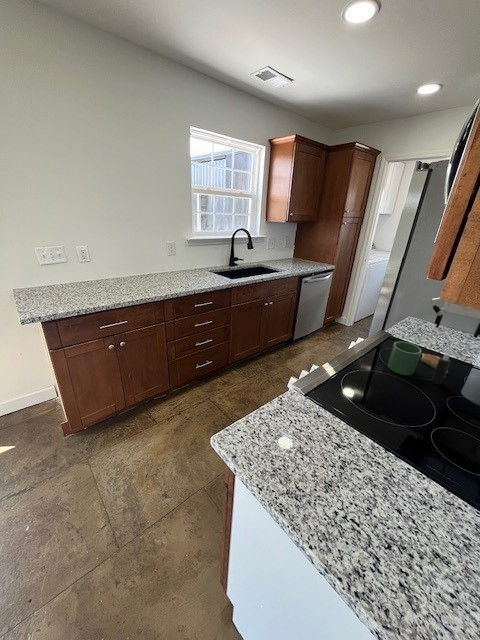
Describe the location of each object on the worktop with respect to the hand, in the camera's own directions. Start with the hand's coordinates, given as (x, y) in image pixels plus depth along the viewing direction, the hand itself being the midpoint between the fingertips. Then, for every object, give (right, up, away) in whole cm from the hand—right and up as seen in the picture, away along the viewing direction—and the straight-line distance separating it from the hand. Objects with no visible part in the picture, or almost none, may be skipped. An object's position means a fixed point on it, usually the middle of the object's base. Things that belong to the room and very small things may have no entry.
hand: (455, 331), depth 83 cm
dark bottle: (0, -18, +8) cm, 20 cm away
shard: (+8, -14, +19) cm, 24 cm away
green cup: (-8, -14, +15) cm, 22 cm away
